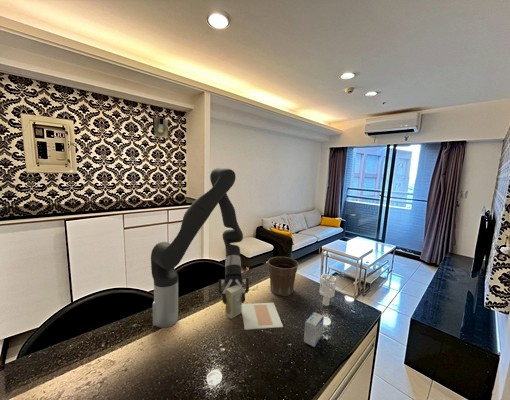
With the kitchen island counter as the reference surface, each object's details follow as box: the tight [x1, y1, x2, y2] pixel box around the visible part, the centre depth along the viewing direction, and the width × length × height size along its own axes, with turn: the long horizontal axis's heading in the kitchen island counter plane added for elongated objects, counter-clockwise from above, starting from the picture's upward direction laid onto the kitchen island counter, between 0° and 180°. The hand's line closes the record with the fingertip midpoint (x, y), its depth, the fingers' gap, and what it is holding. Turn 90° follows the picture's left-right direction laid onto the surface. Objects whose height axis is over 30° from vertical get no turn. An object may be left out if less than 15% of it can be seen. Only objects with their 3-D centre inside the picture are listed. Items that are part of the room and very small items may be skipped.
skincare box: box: [224, 285, 243, 320], centre depth 100 cm, size 6×4×12 cm
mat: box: [241, 302, 284, 331], centre depth 101 cm, size 16×17×1 cm
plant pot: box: [267, 256, 299, 297], centre depth 122 cm, size 16×16×16 cm
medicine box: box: [303, 311, 325, 348], centre depth 88 cm, size 8×4×9 cm, turn 143°
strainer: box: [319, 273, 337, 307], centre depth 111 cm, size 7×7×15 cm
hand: (233, 303), depth 99 cm, fingers closed on skincare box, 7 cm apart
